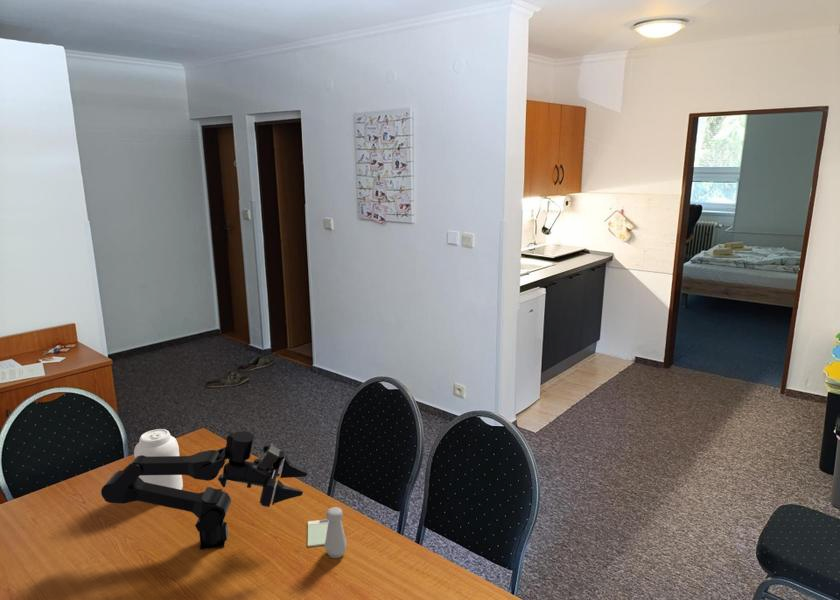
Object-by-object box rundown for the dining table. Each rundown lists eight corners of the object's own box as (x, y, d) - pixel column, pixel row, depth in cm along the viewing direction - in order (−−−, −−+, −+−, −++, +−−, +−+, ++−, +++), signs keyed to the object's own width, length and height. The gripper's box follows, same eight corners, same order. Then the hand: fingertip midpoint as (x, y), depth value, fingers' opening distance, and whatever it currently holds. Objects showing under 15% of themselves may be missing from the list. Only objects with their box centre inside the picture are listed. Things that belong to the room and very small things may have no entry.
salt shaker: (342, 562, 150) (341, 518, 146) (322, 559, 151) (319, 515, 147) (349, 547, 155) (348, 505, 152) (329, 544, 156) (327, 502, 153)
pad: (307, 546, 155) (307, 544, 155) (307, 522, 165) (307, 521, 165) (341, 542, 157) (341, 541, 157) (339, 519, 167) (339, 517, 167)
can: (191, 488, 183) (185, 431, 178) (155, 508, 173) (147, 448, 168) (167, 477, 189) (160, 421, 184) (131, 495, 179) (123, 437, 174)
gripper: (244, 463, 142) (307, 476, 144) (260, 429, 161) (315, 440, 162) (236, 502, 145) (297, 514, 147) (252, 464, 163) (306, 475, 165)
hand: (304, 483), depth 155 cm, fingers open, 9 cm apart
